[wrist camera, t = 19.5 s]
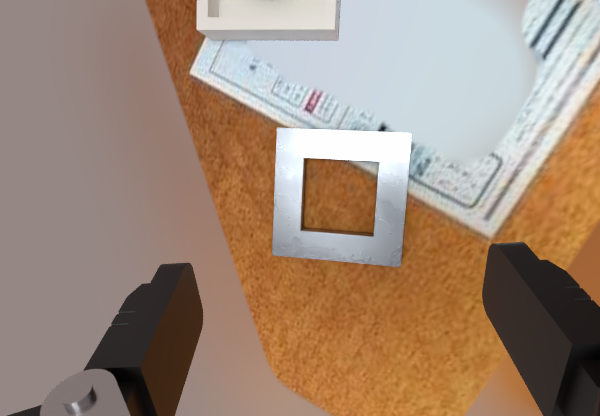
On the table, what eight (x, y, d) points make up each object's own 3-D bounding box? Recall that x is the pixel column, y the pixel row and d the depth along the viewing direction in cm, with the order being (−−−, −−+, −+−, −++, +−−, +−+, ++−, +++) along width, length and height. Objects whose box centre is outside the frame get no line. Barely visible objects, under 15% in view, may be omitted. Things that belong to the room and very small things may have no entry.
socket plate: (410, 133, 37) (411, 133, 36) (399, 262, 39) (400, 267, 38) (280, 128, 39) (277, 127, 38) (275, 251, 41) (272, 255, 40)
